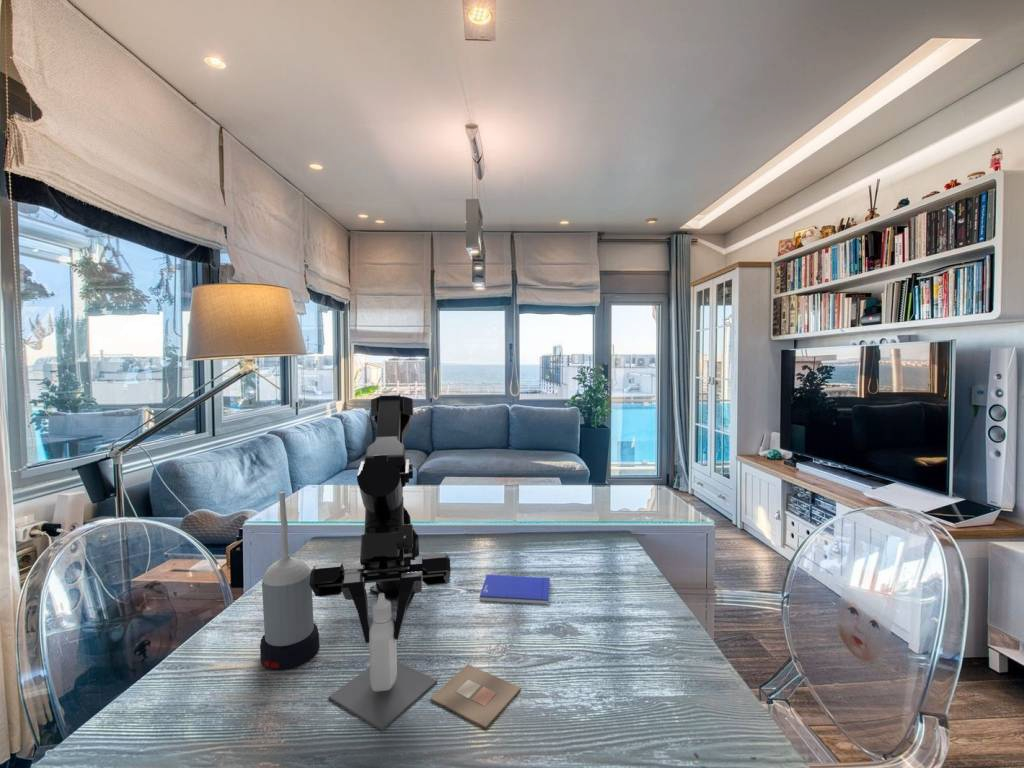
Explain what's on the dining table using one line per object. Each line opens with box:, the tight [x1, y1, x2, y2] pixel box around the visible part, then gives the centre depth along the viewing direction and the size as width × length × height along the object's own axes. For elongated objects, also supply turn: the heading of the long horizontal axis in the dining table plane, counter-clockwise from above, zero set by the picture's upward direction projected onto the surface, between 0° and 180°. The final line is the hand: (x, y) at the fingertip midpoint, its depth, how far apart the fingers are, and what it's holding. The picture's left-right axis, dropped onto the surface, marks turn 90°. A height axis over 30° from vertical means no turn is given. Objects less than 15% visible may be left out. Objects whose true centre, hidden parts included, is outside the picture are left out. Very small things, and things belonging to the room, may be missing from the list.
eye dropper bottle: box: [368, 593, 398, 692], centre depth 66 cm, size 4×6×12 cm
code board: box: [429, 663, 522, 730], centre depth 66 cm, size 9×8×1 cm
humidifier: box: [259, 490, 320, 672], centre depth 74 cm, size 8×8×25 cm
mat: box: [328, 660, 438, 731], centre depth 67 cm, size 10×10×1 cm
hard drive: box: [479, 574, 551, 605], centre depth 93 cm, size 2×8×12 cm
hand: (381, 641), depth 65 cm, fingers closed on eye dropper bottle, 3 cm apart
